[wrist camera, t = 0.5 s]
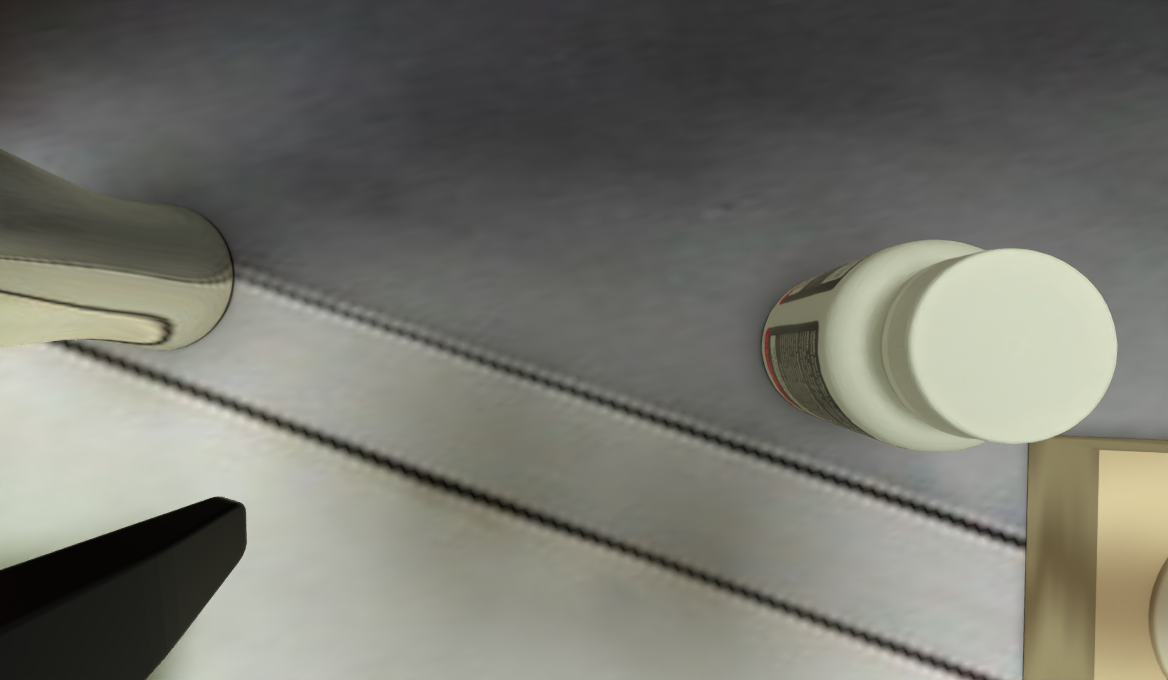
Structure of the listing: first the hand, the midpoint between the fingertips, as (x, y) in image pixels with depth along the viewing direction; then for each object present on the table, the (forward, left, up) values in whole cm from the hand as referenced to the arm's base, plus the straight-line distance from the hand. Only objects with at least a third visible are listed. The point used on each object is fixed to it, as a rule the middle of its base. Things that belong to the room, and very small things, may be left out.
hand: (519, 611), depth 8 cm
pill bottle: (+4, -9, -14) cm, 17 cm away
